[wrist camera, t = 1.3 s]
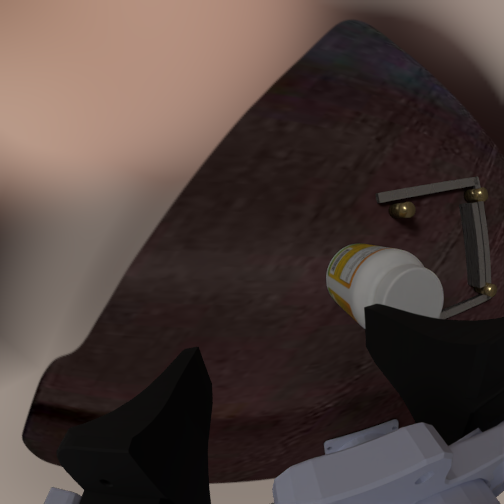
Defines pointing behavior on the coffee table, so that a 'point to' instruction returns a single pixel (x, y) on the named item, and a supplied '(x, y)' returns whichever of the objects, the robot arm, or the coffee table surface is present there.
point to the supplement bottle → (382, 281)
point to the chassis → (472, 231)
